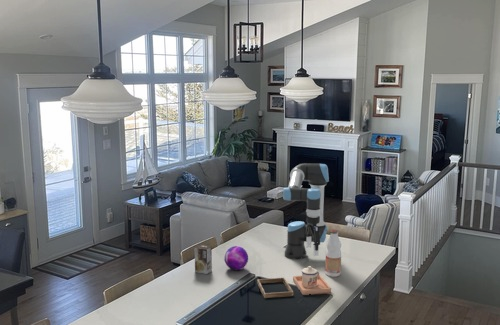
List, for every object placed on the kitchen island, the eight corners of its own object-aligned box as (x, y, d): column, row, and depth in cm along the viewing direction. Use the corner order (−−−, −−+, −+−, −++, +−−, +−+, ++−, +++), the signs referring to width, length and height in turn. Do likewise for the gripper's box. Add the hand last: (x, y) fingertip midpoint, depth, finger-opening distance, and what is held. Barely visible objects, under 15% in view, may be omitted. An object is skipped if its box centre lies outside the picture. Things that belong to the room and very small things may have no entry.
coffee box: (212, 270, 316) (212, 246, 313) (207, 274, 310) (206, 249, 308) (199, 268, 320) (199, 244, 317) (194, 272, 314) (194, 247, 311)
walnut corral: (257, 283, 298) (257, 279, 297) (284, 281, 301) (284, 277, 300) (264, 298, 278) (264, 293, 277) (293, 295, 281) (293, 291, 280)
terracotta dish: (292, 280, 301) (292, 276, 301) (319, 278, 304) (319, 274, 304) (302, 295, 282) (302, 290, 281) (330, 292, 285) (330, 288, 284)
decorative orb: (253, 269, 319) (253, 246, 317) (236, 275, 308) (236, 252, 306) (236, 263, 329) (236, 241, 327) (219, 269, 319) (219, 246, 316)
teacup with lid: (308, 290, 286) (309, 270, 284) (298, 284, 294) (298, 265, 292) (323, 285, 293) (324, 266, 291) (313, 279, 301) (313, 261, 299)
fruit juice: (330, 278, 306) (332, 234, 301) (322, 272, 314) (323, 229, 309) (343, 275, 310) (345, 232, 305) (334, 270, 318) (336, 227, 313)
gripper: (300, 210, 297) (299, 244, 301) (313, 222, 273) (312, 259, 277) (312, 209, 299) (311, 243, 302) (326, 221, 274) (325, 258, 278)
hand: (312, 251), depth 290 cm, fingers open, 13 cm apart
